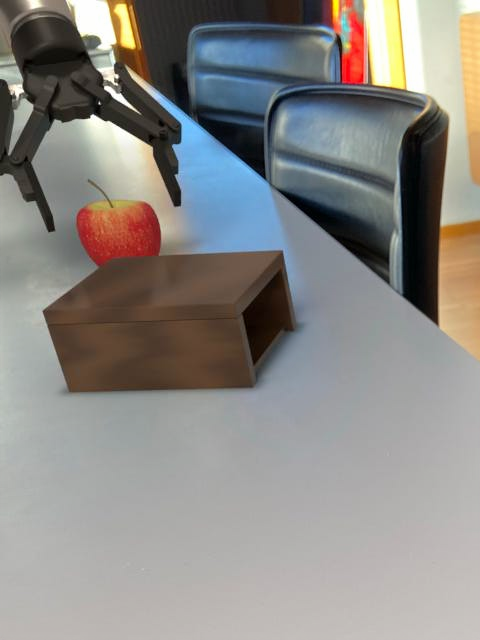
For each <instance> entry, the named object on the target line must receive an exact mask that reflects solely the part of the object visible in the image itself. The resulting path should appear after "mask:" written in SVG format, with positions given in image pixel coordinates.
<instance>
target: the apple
mask: <svg viewBox="0 0 480 640" xmlns="http://www.w3.org/2000/svg"><path fill="white" fill-rule="evenodd" d="M87 182H88V183H89V184H90V185H92V186H93V187H95V188H96V189H97V190H99V191H100V192H101V194H102V195H103V196H104V198H105V200H98V201H94V202H91V203H89V204H87V205H85V206H83V207H82V208H81V209H79V211H78V212H77V214H76V218H75V219H76V220H75V221H76V230H77V235H78V238H79V240H80V243H81V245H82V247H83V249H84V251H85V252H86V254H87V255H88V257H89V258H90V259H91V261H92V262H93V263H94V264H95V265H96V266H97V267H98V268H100V267H101V266H102V265H104V264H105V263H106V262H108V261H109V260H110V259H112V258H117V257H139V256H160V251H161V247H162V229H161V224H160V221H159V218H158V217H159V216H158V215H157V213H156V211H155V209H154V208H153V207H152V205H150V204H149V203H148V202H145V201H142V200H133V199H110V198H109V196H108V195H107V194H106V192H104V191H103V189H101V187H100V186H98V185H97V184H96V183H95V182H94V181H92V180H91V179H90V178H87Z"/></svg>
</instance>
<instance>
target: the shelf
mask: <svg viewBox="0 0 480 640" xmlns="http://www.w3.org/2000/svg"><path fill="white" fill-rule="evenodd" d="M42 314H43V318H44V320H45V323H46V328H47V330H48V333H49V336H50V339H51V342H52V344H53V348H54V350H55V353H56V357H57V360H58V363H59V366H60V368H61V369H60V370H61V371H62V374H63V377H64V381H65V384H66V387H67V390H68V393H95V392H97V393H99V392H136V391H140V392H141V391H174V390H175V391H177V390H210V389H211V390H213V389H215V390H216V389H250V388H251V389H252V388H254V387H255V386H256V384H257V383H258V380H257V377H256V375H257V373H258V372H259V370H260V369H261V368H262V367H263V366H264V364H265V362H266V361H267V360H268V358H269V357H270V356H271V354H272V353H273V352H274V350H275V349H277V348H276V347H277V346H278V345H279V344H280V343H281V341H282V339H283V338H284V337H285V335H286V334H287V333H288V332H294V331H295V330H296V329H297V328H298V326H297V320H296V314H295V309H294V304H293V298H292V293H291V288H290V283H289V277H288V271H287V266H286V260H285V255H284V251H283V249H277V250H276V249H275V250H252V251H250V250H249V251H233V252H231V251H230V252H210V253H209V252H208V253H188V254H187V253H185V254H164V255H162V254H161V255H158V256H139V257H117V258H112V259H110V260H109V261H108V262H106V263H105V264H104V265H102V266H101V267H98V268H97V269H96V270H94V271H93V272H92V273H90V274H89V275H87V276H86V277H84V279H82V280H81V281H79V283H77V284H76V285H74V286H73V287H72V288H71V289H69V290H68V291H66V292H65V293H64V294H62V295H61V296H60V297H58V298H57V299H55V301H53V302H52V303H50V304H49V305H47V306H46V307H45V308H43V309H42Z"/></svg>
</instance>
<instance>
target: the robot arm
mask: <svg viewBox="0 0 480 640" xmlns="http://www.w3.org/2000/svg"><path fill="white" fill-rule="evenodd" d="M0 25H1V28H2V31H3V33H4V36H5V39H6V41H7V44H8V46H9V47H10V50H11V51H10V52H11V54H12V56H13V59H14V61H15V63H16V66H17V69H18V71H19V73H20V76H21V78H22V83H20V84H19V83H17V84H16V83H15V84H8V82H7V80H6V79H3V78H0V177H2V176H4V175H10V176H12V177H13V180H14V182H15V183H16V185H17V187H18V190H19V192H20V194H21V197H22V199H23V200H24V201H25V202H26V203H30V202H31V203H32V202H35V203H36V206H37V208H38V211H39V213H40V215H41V218H42V220H43V223H44V226H45V228H46V231H47V233H48V234H49V233H54V232H56V226H55V220H54V216H53V213H52V211H51V208H50V205H49V202H48V201H47V199H46V195H45V193H44V190H43V188H42V185H41V184H40V180H39V178H38V175H37V174H36V171H35V168H34V166H33V163H32V162H33V160H34V158H35V156H36V154H37V152H38V150H39V148H40V146H41V145H42V142H43V141H44V138H45V137H46V135H47V132H49V131H50V130H51V128H52V126H53V124H54V122H55V120H56V121H60V122H61V124H64V123H70V122H72V121H74V120H89V119H92V117H91V116H95V117H97V118H98V119H100V120H101V121H103V122H105V123H107V122H110V123H111V124H113V125H115V126H116V127H118V128H120V129H121V130H123V131H125V132H126V133H128V134H130V135H131V136H133V137H135V138H136V139H137V140H139V141H141V142H143V143H144V144H146V145H147V146H149V147H151V148H152V158H153V159H154V162H155V165H156V167H157V169H158V172H159V174H160V177H161V179H162V181H163V184H164V186H165V188H166V190H167V192H168V195H169V198H170V201H171V203H172V206H173V207H174V208H179V207H181V206H182V189H181V187H180V184H179V182H178V179H177V177H176V175H179V163H180V162H179V159H178V157H177V155H176V152H175V149H174V148H173V146H176V145H177V146H178V145H180V144H181V143H182V141H183V140H182V137H183V135H182V133H183V132H182V130H183V126H182V123H181V122H180V120H178V119H177V118H176V117H175V116H174V115H173V114H172V113H171V112H169V110H167V108H166V107H164V106H163V105H162V104H161V103H160V102H159V101H157V100H156V98H154V97H153V96H152V95H151V94H150V93H149V92H148V91H147V90H146V89H145V88H143V87H142V86H141V85H140V84H139V83H138V82H137V81H136V80H135V79H134V78H133V77H132V76H131V74H130V72H129V70H128V68H127V67H126V65H125V64H124V63H123V62H122V61H116V62H114V64H113V69H110V70H106V71H100V70H98V69H97V67H95V65H94V63H93V60H92V59H91V57H90V55H89V52H88V48H87V47H86V45H85V42H84V40H83V37H82V34H81V32H80V30H79V29H78V25H77V22H76V21H75V18H74V16H73V14H72V11H71V8H70V6H69V3H68V1H67V0H0ZM105 87H109V88H111V89H112V90H113V91H114V92H115V94H116V95H121V96H122V98H123V99H124V100H125V102H127V103H128V104H129V105H130V106H131V107H132V108H133V109H132V108H131V107H129V106H128V105H126V104H124V103H123V102H121V101H119V100H118V99H116V98H114V96H113V95H112V94H111V92H110V91H108V90H107V89H105ZM24 99H25V100H26V102H28V103H30V104H31V105H33V106H32V111H31V113H30V115H29V117H28V119H27V121H26V123H25V125H24V126H23V128H22V131H21V132H20V134H19V137H18V138H17V141H16V143H15V145H14V147H13V148H12V150H11V152H10V148H11V147H10V146H11V140H12V135H13V128H14V123H15V111H17V110H19V107H20V105H21V101H22V100H24ZM9 152H10V154H9Z"/></svg>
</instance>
